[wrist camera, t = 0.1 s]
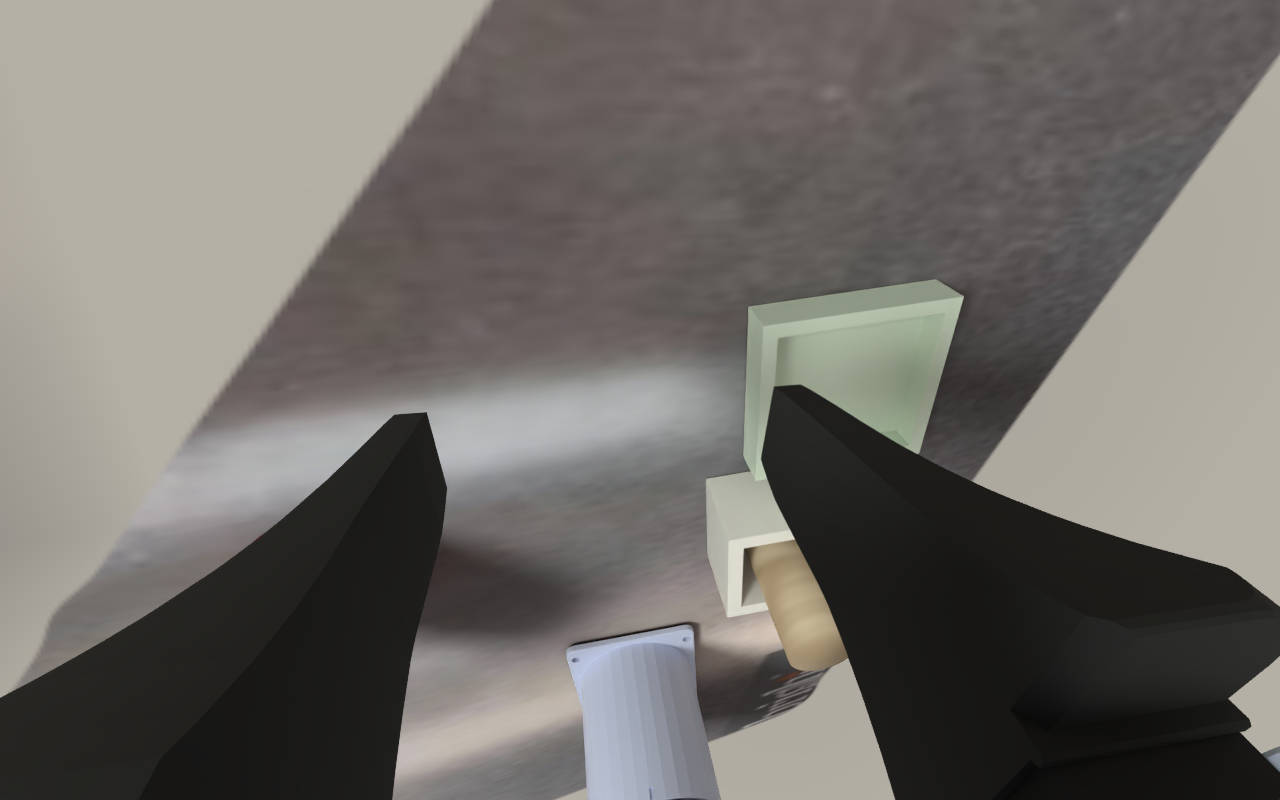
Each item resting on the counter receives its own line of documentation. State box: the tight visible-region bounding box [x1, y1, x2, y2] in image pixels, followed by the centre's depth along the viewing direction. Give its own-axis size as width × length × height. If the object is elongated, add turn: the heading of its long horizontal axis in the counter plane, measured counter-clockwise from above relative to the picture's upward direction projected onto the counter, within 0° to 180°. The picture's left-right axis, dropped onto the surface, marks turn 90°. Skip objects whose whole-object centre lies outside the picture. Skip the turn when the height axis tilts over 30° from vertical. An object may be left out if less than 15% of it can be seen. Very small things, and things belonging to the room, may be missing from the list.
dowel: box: [745, 539, 848, 671], centre depth 25 cm, size 3×3×8 cm
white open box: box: [706, 471, 794, 618], centre depth 27 cm, size 6×6×4 cm
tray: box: [743, 279, 964, 481], centre depth 23 cm, size 8×8×2 cm
